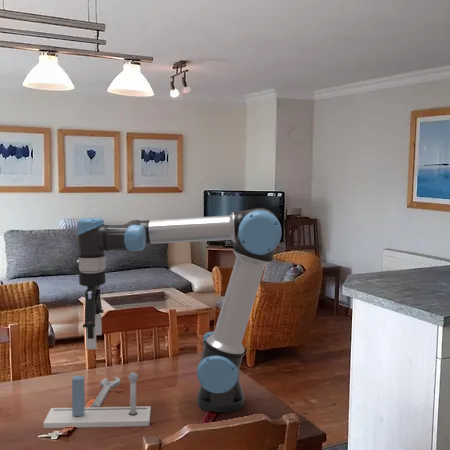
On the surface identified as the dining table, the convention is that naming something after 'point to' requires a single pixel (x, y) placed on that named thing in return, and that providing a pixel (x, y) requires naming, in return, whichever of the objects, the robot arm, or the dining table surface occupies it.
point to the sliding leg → (78, 396)
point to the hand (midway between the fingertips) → (94, 341)
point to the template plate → (102, 414)
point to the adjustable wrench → (105, 391)
